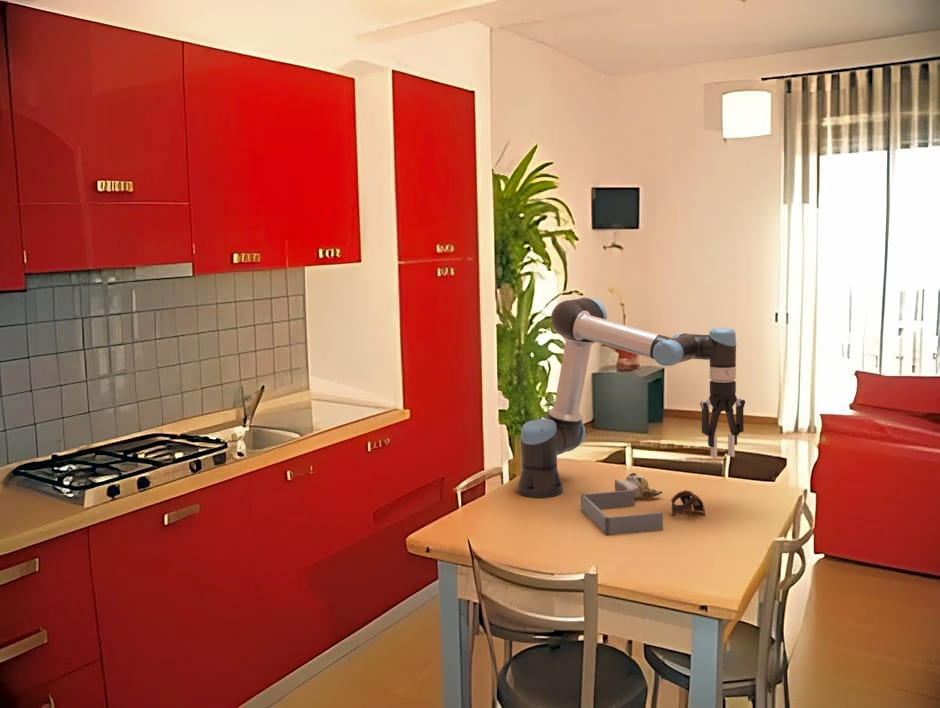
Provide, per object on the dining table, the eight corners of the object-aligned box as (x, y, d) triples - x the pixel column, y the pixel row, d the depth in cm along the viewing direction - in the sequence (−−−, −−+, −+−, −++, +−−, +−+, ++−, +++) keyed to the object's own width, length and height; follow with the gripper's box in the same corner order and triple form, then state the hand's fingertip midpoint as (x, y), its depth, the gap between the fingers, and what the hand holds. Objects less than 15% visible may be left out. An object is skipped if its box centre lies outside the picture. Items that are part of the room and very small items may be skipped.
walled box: (580, 510, 270) (580, 494, 270) (633, 505, 273) (633, 489, 272) (606, 535, 247) (605, 518, 246) (663, 529, 250) (662, 512, 249)
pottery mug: (711, 520, 258) (700, 499, 255) (682, 533, 260) (670, 513, 257) (701, 498, 269) (690, 478, 266) (673, 511, 271) (662, 491, 268)
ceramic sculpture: (606, 470, 281) (645, 467, 287) (605, 497, 282) (643, 492, 288) (625, 479, 272) (664, 475, 278) (624, 506, 273) (663, 501, 279)
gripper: (699, 384, 255) (699, 461, 258) (756, 380, 258) (756, 457, 261) (689, 380, 262) (689, 455, 265) (744, 376, 265) (744, 451, 268)
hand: (722, 456), depth 263 cm, fingers open, 5 cm apart
